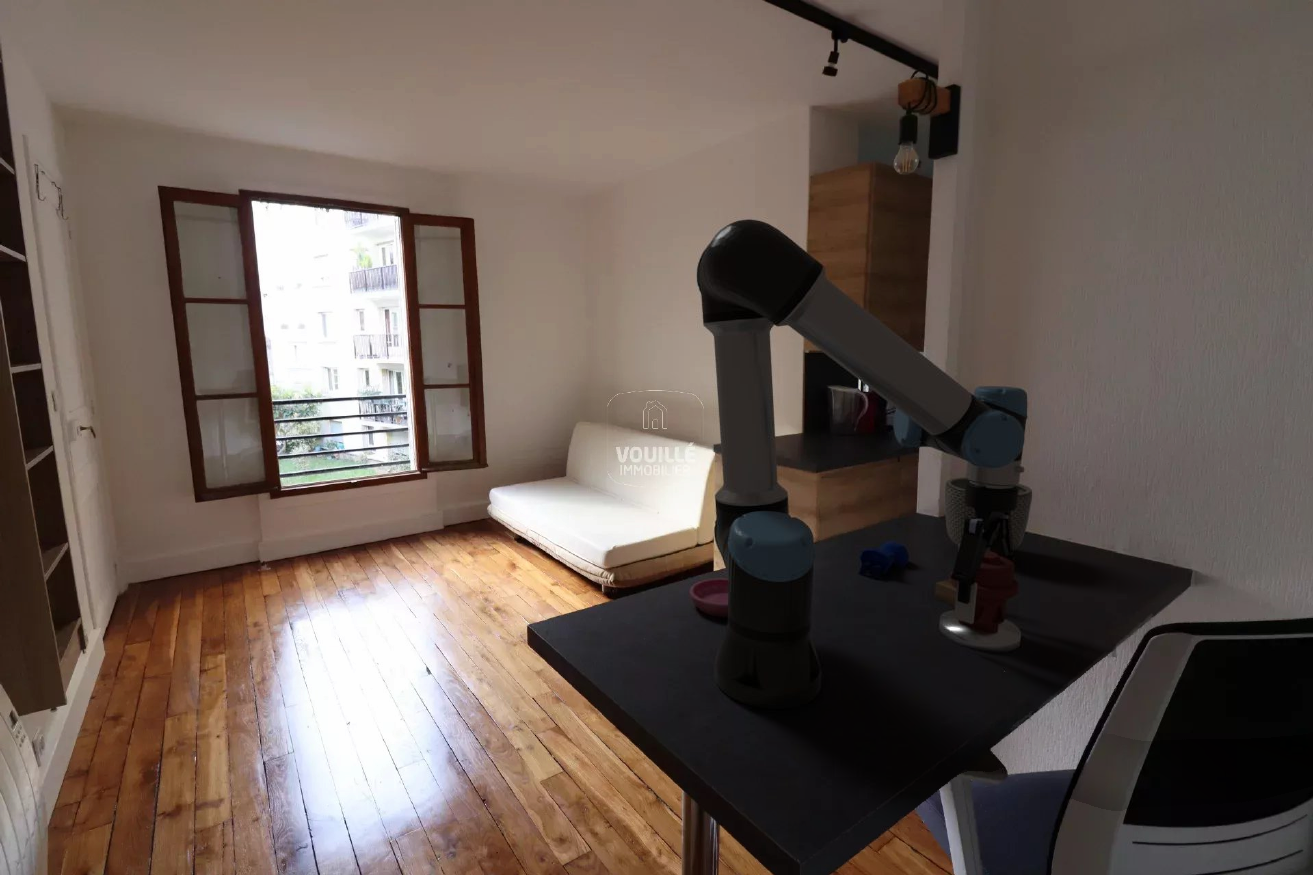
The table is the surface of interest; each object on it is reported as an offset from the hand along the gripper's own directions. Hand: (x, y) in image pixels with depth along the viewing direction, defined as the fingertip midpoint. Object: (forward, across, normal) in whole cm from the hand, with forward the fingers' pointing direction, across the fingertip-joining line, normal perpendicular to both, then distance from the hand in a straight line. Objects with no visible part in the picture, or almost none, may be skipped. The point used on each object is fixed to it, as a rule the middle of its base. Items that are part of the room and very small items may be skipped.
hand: (979, 608), depth 101 cm
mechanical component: (+3, 0, 0) cm, 3 cm away
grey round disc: (+4, 0, 0) cm, 5 cm away
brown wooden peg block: (+4, +11, +7) cm, 14 cm away
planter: (+5, +42, +14) cm, 44 cm away
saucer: (+5, -23, +36) cm, 43 cm away
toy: (+5, +17, +25) cm, 31 cm away
